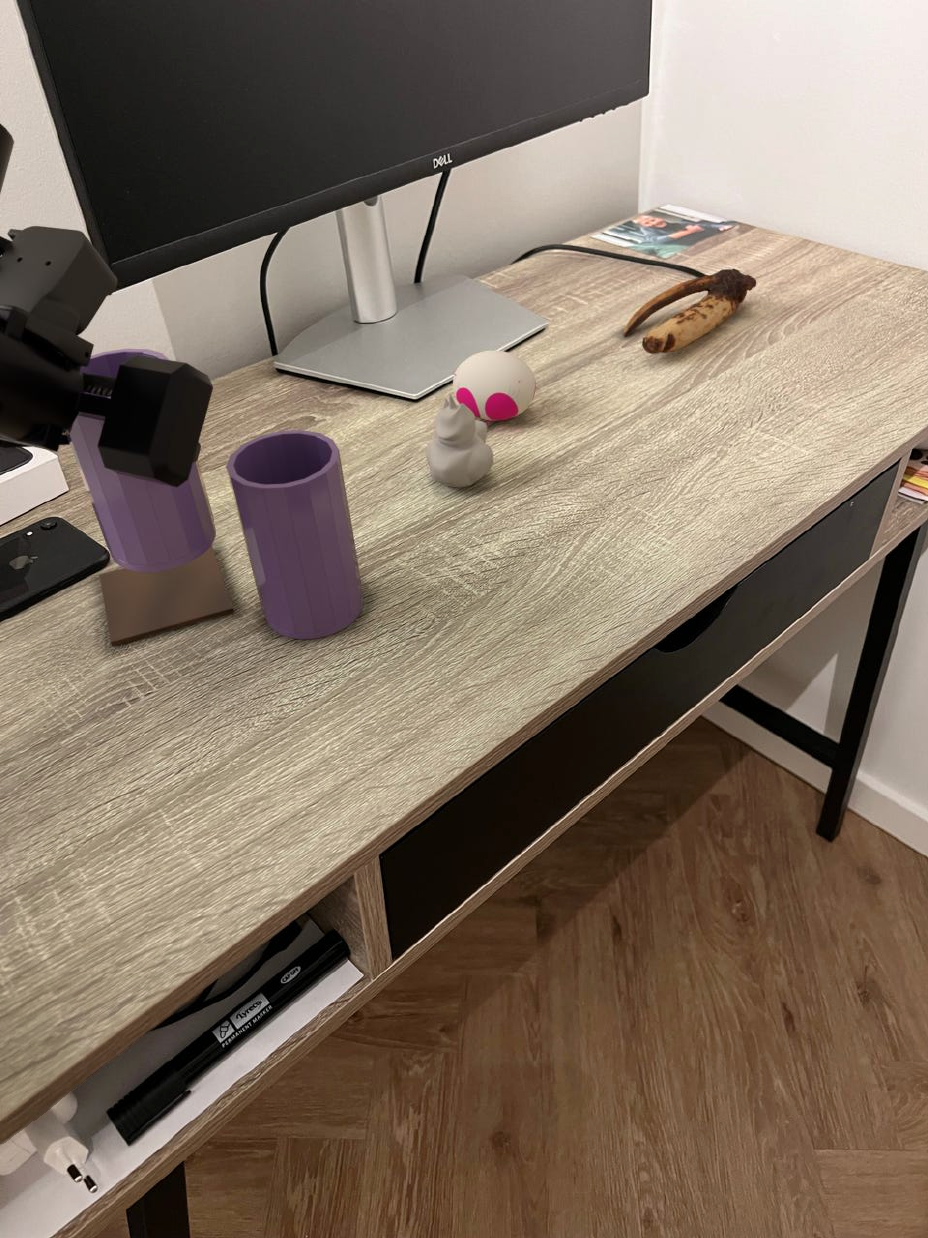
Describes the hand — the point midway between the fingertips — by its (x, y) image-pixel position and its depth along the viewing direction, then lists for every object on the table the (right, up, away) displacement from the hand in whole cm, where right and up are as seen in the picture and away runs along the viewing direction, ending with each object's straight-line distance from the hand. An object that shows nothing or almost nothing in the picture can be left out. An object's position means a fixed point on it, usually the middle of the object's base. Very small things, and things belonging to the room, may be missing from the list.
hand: (150, 443), depth 62 cm
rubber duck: (+20, 0, +19) cm, 27 cm away
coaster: (-2, -9, +9) cm, 13 cm away
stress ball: (+22, +7, +26) cm, 35 cm away
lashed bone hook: (+42, +18, +37) cm, 59 cm away
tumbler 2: (+9, -10, +7) cm, 15 cm away
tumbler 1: (0, -6, +3) cm, 7 cm away
